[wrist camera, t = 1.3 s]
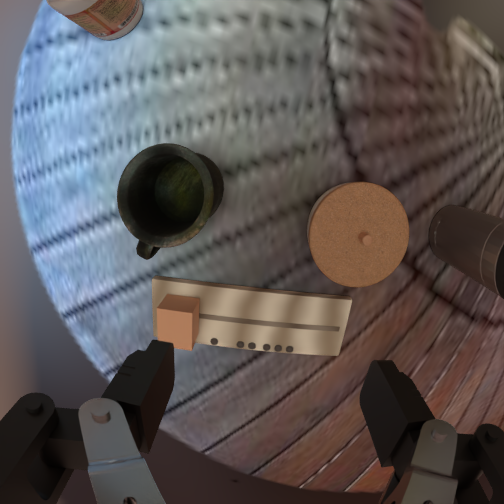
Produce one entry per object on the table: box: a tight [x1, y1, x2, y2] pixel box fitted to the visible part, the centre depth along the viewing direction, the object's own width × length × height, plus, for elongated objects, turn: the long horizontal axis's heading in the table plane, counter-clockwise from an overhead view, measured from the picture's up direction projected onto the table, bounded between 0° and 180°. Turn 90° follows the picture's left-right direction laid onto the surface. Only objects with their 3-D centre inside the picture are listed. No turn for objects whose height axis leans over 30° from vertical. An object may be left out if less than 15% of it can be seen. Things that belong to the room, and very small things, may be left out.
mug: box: [117, 143, 224, 260], centre depth 38 cm, size 11×15×12 cm
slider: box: [157, 294, 200, 351], centre depth 44 cm, size 5×6×5 cm
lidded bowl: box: [307, 182, 409, 287], centre depth 38 cm, size 13×13×11 cm
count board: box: [152, 276, 352, 356], centre depth 47 cm, size 30×10×2 cm, turn 84°
